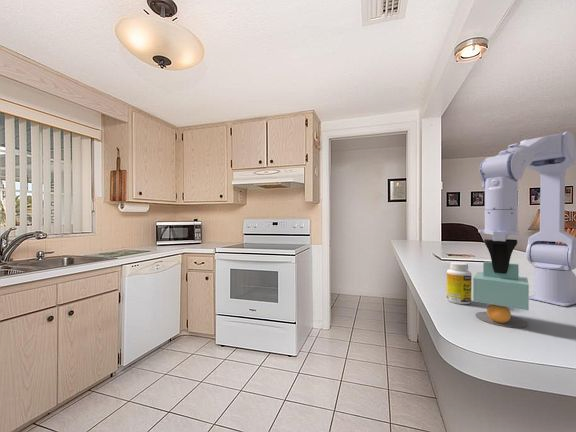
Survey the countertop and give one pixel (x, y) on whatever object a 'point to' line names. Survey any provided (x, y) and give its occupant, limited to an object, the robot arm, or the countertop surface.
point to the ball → (498, 313)
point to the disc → (512, 323)
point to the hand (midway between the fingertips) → (500, 272)
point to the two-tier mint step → (501, 287)
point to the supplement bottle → (459, 283)
